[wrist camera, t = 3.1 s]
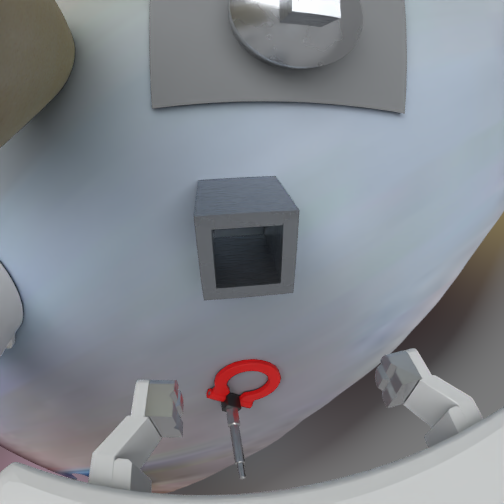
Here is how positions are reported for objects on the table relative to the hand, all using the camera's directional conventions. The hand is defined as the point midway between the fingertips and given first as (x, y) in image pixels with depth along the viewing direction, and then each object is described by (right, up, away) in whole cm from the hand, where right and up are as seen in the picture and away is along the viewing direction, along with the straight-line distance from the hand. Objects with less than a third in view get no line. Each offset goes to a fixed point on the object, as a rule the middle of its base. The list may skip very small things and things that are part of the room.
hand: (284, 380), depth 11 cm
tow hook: (-2, -12, +26) cm, 28 cm away
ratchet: (+2, +27, +2) cm, 27 cm away
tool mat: (+1, +27, +3) cm, 27 cm away
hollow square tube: (-2, +8, +14) cm, 16 cm away
